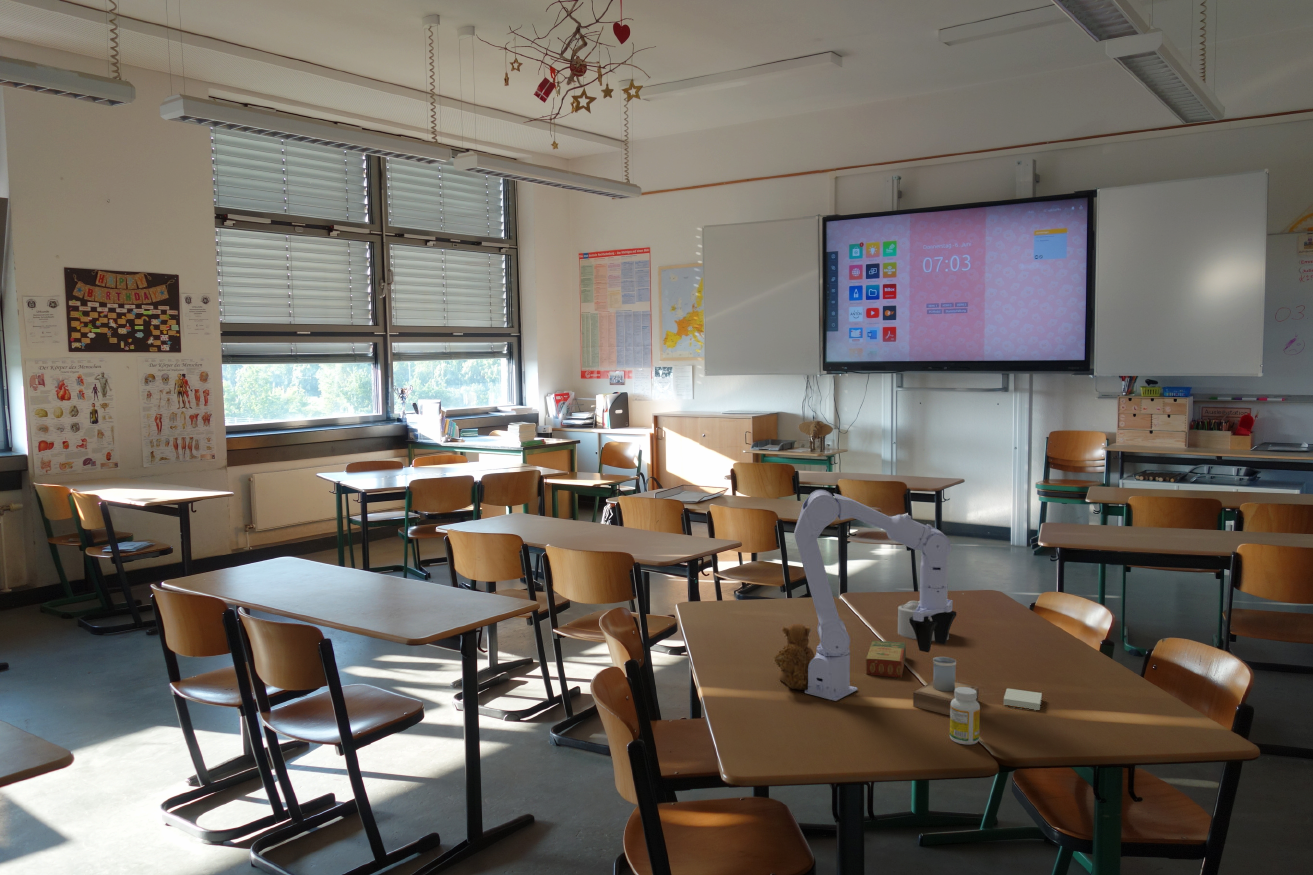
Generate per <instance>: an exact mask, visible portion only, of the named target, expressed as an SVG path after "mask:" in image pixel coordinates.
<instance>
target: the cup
mask: <svg viewBox="0 0 1313 875" xmlns="http://www.w3.org/2000/svg"><path fill="white" fill-rule="evenodd" d="M932 664H933V674H932V675H933V678H932V679H933V680H932V681H933V688H934V689H936V690H939V691H945V692H950V691H954V690H955V682H956V665H957V660H956V659H955V658H951V657H947V656H936V657H933V658H932Z"/></svg>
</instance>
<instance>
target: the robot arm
mask: <svg viewBox="0 0 1313 875" xmlns="http://www.w3.org/2000/svg"><path fill="white" fill-rule="evenodd" d="M833 495H834V496H833ZM837 517H838V520H840V521H843V520H846V519H855V520H858V521H860V522H863V523H865V524H868V525H870V526H874V527H876V528H878V529H880V530H884V531H885V532H886V535H887V538H888V539H889V540H890V541H894V542H896V543H898V544H901V545H903V546H905V547H908V548H910V549H913V550H915V551H921V553H920V559H921V560H920V565H919V566H920V569H919V571H920V575H919V601H920V604H919V605H918V607H917V609H916V610H915V611H913V616H912V617H910V618H909V622H910V624H911V626H912V627H913V630H914V632H915V635H916V639H915V640H916V642H917V646H918V650H919V652H924V653H929V652H930V651H931V647H932V642H933V641H932V635H933V631H934V637H935V641H934V643H935V644H938V645H939V644H940V645H946V644H947V641H948V640H947V637H948V633H949V634H950V629H951V628H952V625H953V622H954V620H955V619H956V617H957V611H956V610H953V600H952V599H948V587H949V586H948V584H949V583H948V581H949V580H948V579H949V574H948V573H949V565H948V562H949V561H948V560H949V558H948V556H949V555H950V553H951V552H952V549H953V547H952V545H951V541H950V539H949V537H948V536H946V534H944V533H943V532H942V531H941V530H939V529H937V528H936V527H933V526H932V524H928V523H927V524H923V523H920V522H918V521H916V520H914V519H912V516H911V515H909V514H907V513H904V515H902V514H896V515H894V516H888V515H887V514H884V513H883V512H880V511H878V510H876V509H874V508H872V507H870V506H867V505H866V504H864V503H861V502H859V501H857V500H854V499H852V498H850V497H847V496H844V495H841V494H837V493H833V494H832V493H831V492H830V491H827V490H825V489H815V490H814V491H812V492H811V493H810V494H809V495H808V497H807V498H806V499H805V500H804V501H803V503H802V506H801V509H800V512H799V516H798V519H797V521H796V525H795V528H794V531H793V532H794V533H793V535H794V539H795V543H796V546H797V549H798V552H799V556H800V560H801V564H802V567H803V570H804V574H805V577H806V580H807V584H808V587H809V591H810V595H811V598H812V602H813V605H814V608H815V613H816V616H817V619H818V622H817V623H818V624H817V629H816V630H817V634H818V635H817V636H818V638H819V643H818V645H817V646H816V653H815V654H814V658H813V659H812V660H811V661H810V663H809V666H808V687H807V689H806V690H804V693H805V694H806V695H807V694H808V695H811V696H815V697H817V698H818V697H819V698H823V699H827V700H829V701H834V702H836V701H838V700H841V699H843V698H845V697H847V696H848V695H850V694H853V693H854V692H856V691H858V687H856V686H851V684H850V681H851V679H850V677H851V676H850V675H851V671H850V669H851V664H850V663H851V659H850V658H851V650H850V646H851V637H850V635H849V633H848V632H847V627H846V625H845V623H844V621H843V619H841V618H840V616H839V613H838V610H837V606H836V603H835V602H836V601H835V600H834V596H833V591H832V588H831V586H830V582H829V578H828V574H827V571H826V567H825V564H824V560H823V557H822V553H821V550H820V546H819V543H818V538H819V537H820V535H821V533H823V531H824V529H825V528H826V527H827V526H829V525H830V524H832V523H833V522H834V521H835V520H836V519H837ZM930 616H931V618H932V621H930V619H928V618H929V617H930Z"/></svg>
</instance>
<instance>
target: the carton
mask: <svg viewBox="0 0 1313 875" xmlns="http://www.w3.org/2000/svg"><path fill="white" fill-rule="evenodd" d="M906 648H907V647H906V642H902V641H900V642H899V641H889V640H888V641H887V640H886V641H885V640H872V641H871V643H870V646H869V650H868V653H867V656H866V658H865V675H872V676H881V677H882V676H883V677H893V678H902V676H903V671H904V666H905V662H906V658H907V653H906V652H907V651H906V650H907V649H906Z"/></svg>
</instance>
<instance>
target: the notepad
mask: <svg viewBox="0 0 1313 875" xmlns="http://www.w3.org/2000/svg"><path fill="white" fill-rule="evenodd" d="M1042 693H1043V692H1036V691H1029V690H1021V689H1015V688H1006V690H1005V693H1004V696H1003V705H1010V706H1017V707H1024V708H1029V709H1034V710H1033V711H1036V710H1040V709H1041V706H1040V705H1042V701H1043V699H1042V697H1043V696H1042V695H1043V694H1042ZM1041 700H1042V701H1041ZM1029 709H1028V710H1029Z"/></svg>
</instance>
